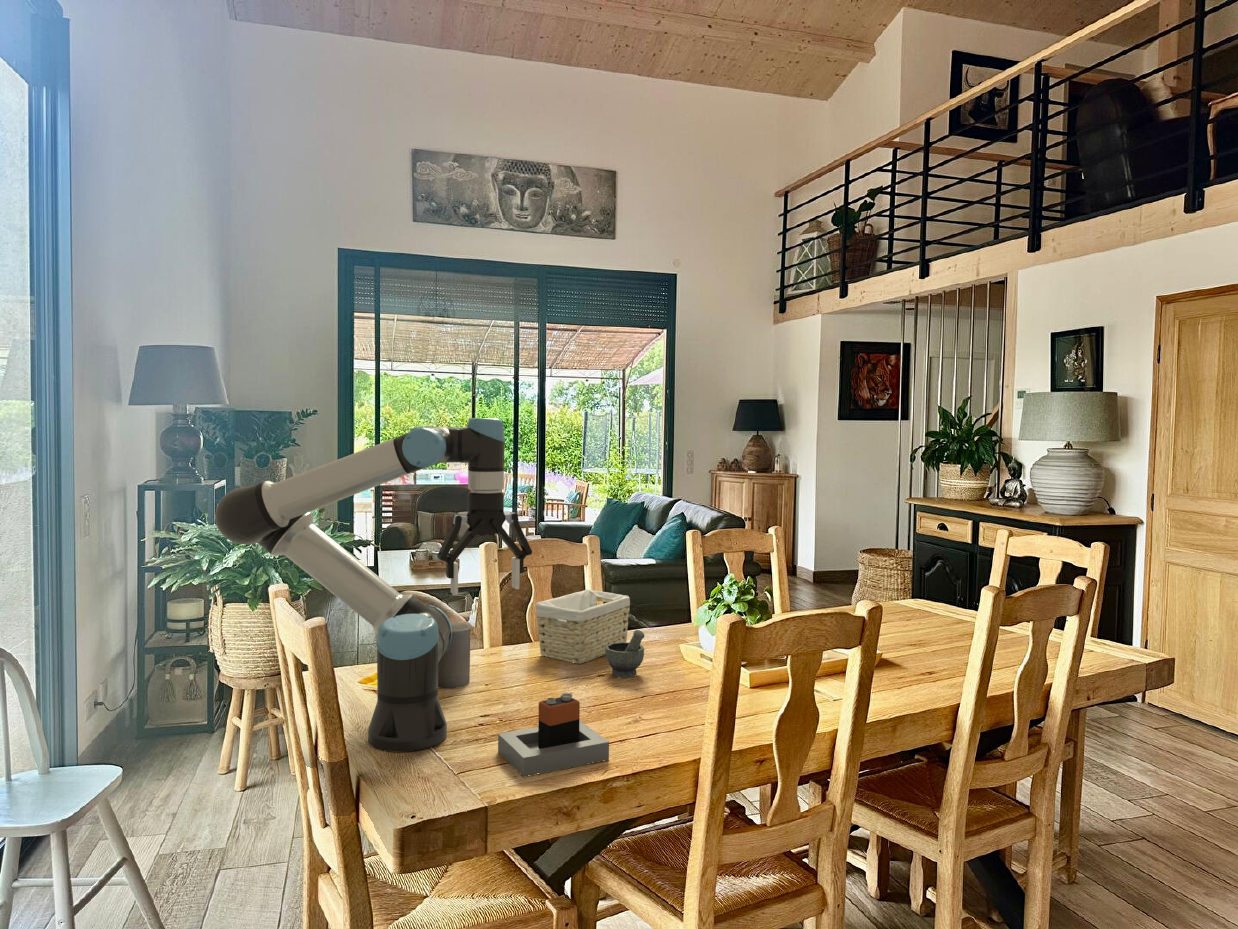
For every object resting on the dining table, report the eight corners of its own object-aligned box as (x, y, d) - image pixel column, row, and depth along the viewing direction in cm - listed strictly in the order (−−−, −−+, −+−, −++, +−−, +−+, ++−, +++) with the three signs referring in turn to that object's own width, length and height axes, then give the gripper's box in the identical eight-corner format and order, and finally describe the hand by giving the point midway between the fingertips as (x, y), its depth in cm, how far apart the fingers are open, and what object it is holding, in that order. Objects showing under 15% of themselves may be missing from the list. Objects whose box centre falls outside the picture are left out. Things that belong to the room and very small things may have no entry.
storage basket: (579, 667, 219) (580, 610, 218) (531, 656, 228) (532, 602, 227) (632, 648, 238) (633, 595, 237) (586, 638, 247) (586, 588, 247)
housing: (523, 777, 151) (523, 757, 150) (498, 751, 162) (498, 733, 162) (608, 760, 159) (609, 742, 158) (578, 737, 170) (579, 719, 170)
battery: (580, 748, 160) (580, 696, 160) (549, 756, 156) (549, 703, 156) (567, 741, 164) (568, 690, 163) (537, 749, 160) (537, 696, 159)
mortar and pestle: (597, 673, 213) (597, 626, 212) (624, 666, 219) (624, 620, 219) (628, 684, 205) (628, 634, 204) (655, 676, 211) (656, 628, 211)
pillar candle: (421, 686, 201) (422, 623, 200) (441, 674, 210) (442, 614, 210) (458, 691, 198) (459, 627, 197) (477, 679, 208) (478, 618, 207)
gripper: (534, 488, 189) (533, 583, 190) (422, 491, 177) (422, 592, 178) (547, 490, 182) (546, 589, 183) (432, 494, 171) (432, 599, 172)
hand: (485, 591), depth 181 cm, fingers open, 13 cm apart
